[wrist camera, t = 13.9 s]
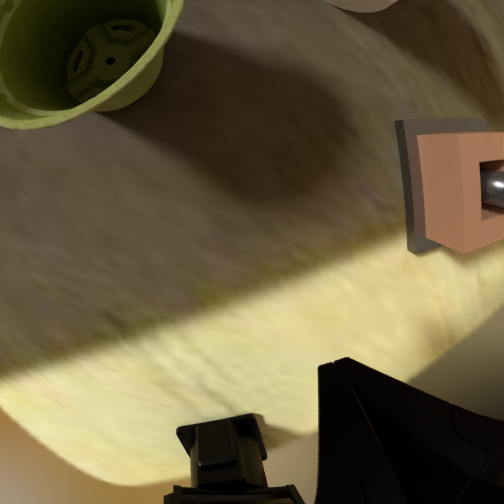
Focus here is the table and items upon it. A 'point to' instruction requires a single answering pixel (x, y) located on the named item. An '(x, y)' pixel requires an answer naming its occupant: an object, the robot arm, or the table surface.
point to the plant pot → (66, 50)
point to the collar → (460, 188)
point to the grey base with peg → (492, 182)
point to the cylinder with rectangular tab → (362, 4)
